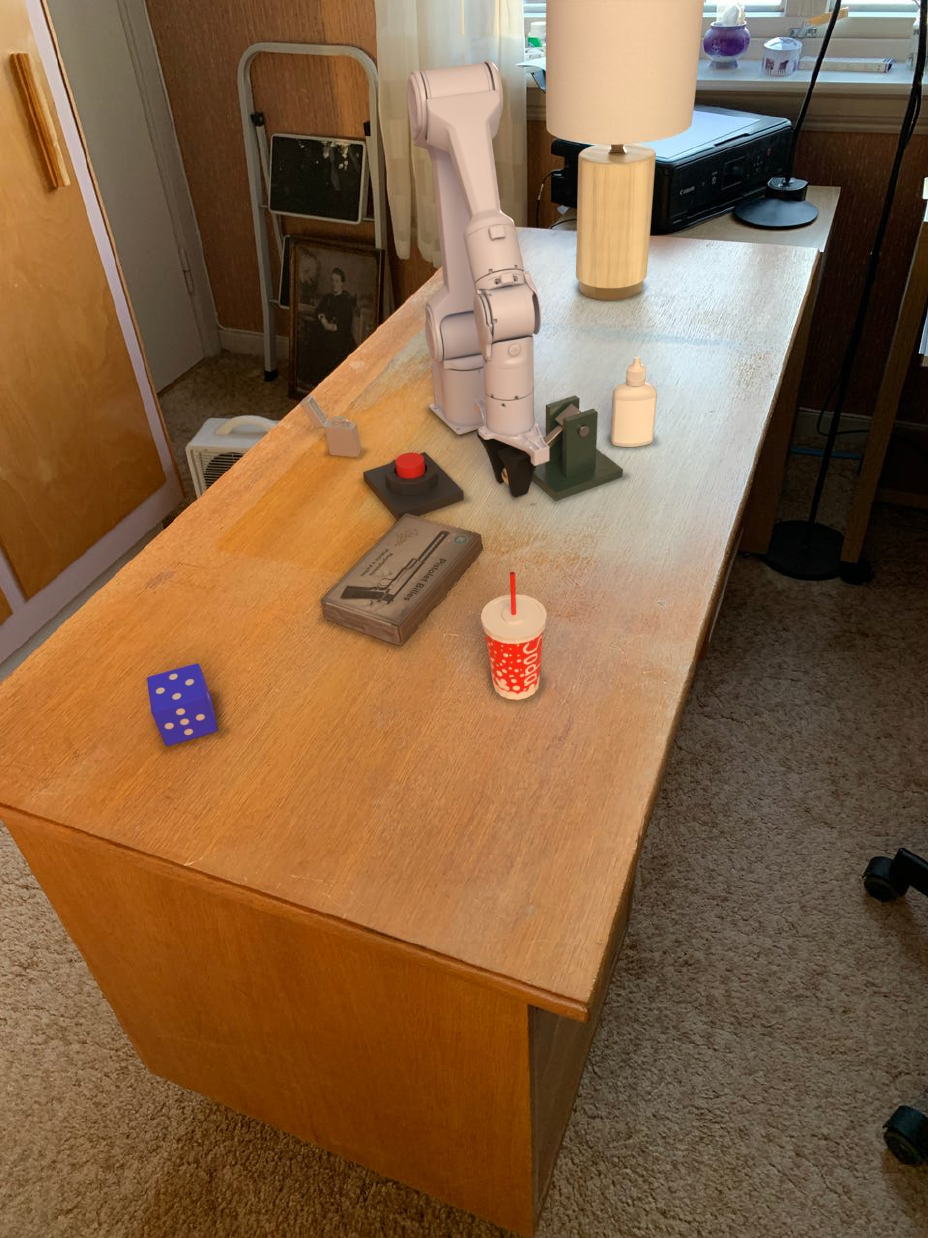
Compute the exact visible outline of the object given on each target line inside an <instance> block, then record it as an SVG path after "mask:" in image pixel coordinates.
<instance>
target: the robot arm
mask: <svg viewBox="0 0 928 1238" xmlns="http://www.w3.org/2000/svg"><path fill="white" fill-rule="evenodd" d="M406 99H407V100H406V101H407V108H408V109H407V111H408V116H409V127H410V135H411V138H412V140H413V145H414V146H415V147H417V148H421V149H425V150H426V151H427V153H428V156H429V159H430V163H431V168H432V169H431V170H432V177H433V178H432V179H433V187H434V198H435V199H434V200H435V207H436V209H435V210H436V217H437V229H438V237H439V238H438V240H439V249H440V259H441V260H440V261H441V269H442V279H443V280H442V281H443V285H442V286H441V288H439V289H438V290H437V292H436V293H435V294H433V295H432V296H431V297H430V298H429V299H428V300H427V301H426V302H425V307H424V311H425V322H424V323H425V324H424V328H425V329H424V330H425V338H426V343H427V348H428V352H429V355H430V357H431V359H432V363H431V377H432V387H433V389H432V390H433V398H434V399H433V400H434V402H433V403H431V404H429V406H428V408H429V410H431V412H433V414H435V415H436V416H437V417H438V418H439V419H440V420H441V421H442V422H443V423H445V424H446V425H447V427H449V428H450V429H451V430H452V431H453V432H454V433H455V434H456V435H459V436H461V435H464V434H468V433H470V432H473V431H476V430H477V432H476V435H477V438H478V440H479V441H480V442H481V444H482V445H483V448H484V449H485V451H486V454H487V456H488V459H489V462H490V465H491V467H492V471H493V474H494V475H493V476H494V477H495V481H496V482H497V483H498V484H499V485H502V484H503V483H505V482H504V480H503V478H502V468H503V466H505V469H506V472H507V477H508V484H509V485H508V484H507V485H508V490H509V493H510V496H511V497H513V498H514V499H517V498H519V497H522V496H525V495H527V494H529V490H530V487H531V482H532V481H533V480H532V477H533V474H534V471H535V468H536V466H537V465H539V464H542V463H545V462H548V461H549V446H548V445H547V444H546V443H545V442H544V440H543V439H544V437H543V435H542V433H541V430H540V428H539V425H538V422H537V420H536V418H535V381H534V380H535V377H534V376H535V372H534V365H535V363H534V362H535V361H534V336H533V334H534V335H538V334H539V333H540V331H541V327H542V309H541V302H540V296H539V293H538V290H537V287H536V285H535V283H534V281H533V279H532V276H531V273H530V271H529V270H526V271H525V266H524V262H523V257H522V252H521V248H520V243H519V239H518V235H517V230H516V225H515V221H514V220H513V219H512V218H511V217H510V216H508V215H507V214H506V213H504V212H503V211H502V209H501V208H502V207H501V199H500V193H499V186H498V178H497V170H496V163H495V153H494V148H493V147H494V146H493V139H494V138H495V137H496V136H497V134H498V132H499V128H500V119H501V117H502V115H503V110H504V90H503V83H502V77H501V74H500V71H499V69H498V67H497V66H496V65H495V63H494V62H493V61H492V60H485V61H483V62H480V63H473V64H472V63H471V64H465V65H464V64H463V65H457V66H449V67H441V68H432V69H424V70H419V69H413V70H412V71H411V72H410V74H409V76H408V78H407V80H406Z"/></svg>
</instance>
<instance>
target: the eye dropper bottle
mask: <svg viewBox="0 0 928 1238" xmlns="http://www.w3.org/2000/svg"><path fill="white" fill-rule="evenodd" d="M625 373H626V376H625V382H623V383H620V384H618V385H617V386H615V387H614V388H613V389H612V395H611V396H612V397H611V411H610V412H611V413H610V414H611V415H610V430H609V431H610V432H609V437H610V441H611V444H612V445H613V446H615V447H621V448H636V447H637V448H638V447H643V446H647V445H650V444H652V443H653V441H654V436H655V423H656V411H657V398H658V393H657V389H656V387H655V385H654V384H652V383H650V382H647V381H646V375H647V367H646V366H645V365H644V364H642V363H641V357H640V356H634V357H633V361H632V364H629V365H628V366H627V367H626V372H625Z"/></svg>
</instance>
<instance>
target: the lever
mask: <svg viewBox="0 0 928 1238" xmlns="http://www.w3.org/2000/svg"><path fill="white" fill-rule="evenodd" d="M581 412H582V411H581V410H580V408H579V409H577V408H576V407H575V406H573V405H572V404H570V405H569V406H568V407H567V408H566V409H565V410H564V411H563V412H562V413H560V414H559V415H558V416H557V417H556V418H555V421H556V422H557V424H558V426H557V427H556V428H555V429H554V430H553V431H551V432H550V433H549V434H548V435H547V436H546V435H545V437H543V440H544V442H545V443H546V444H547V445H548V446H549V449H550V448H551V447H552V446H553V445H554V444H555V443H556V442H557V441H558V440H560V439H561V438H562V437H563V418H566V417H569V416H572V415H575V414H578V413H581ZM502 478H503V480H504V483H505V484H506V485H508V486H509V484H508V477H507V472H506V469H505V466H503V468H502Z"/></svg>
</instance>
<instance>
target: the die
mask: <svg viewBox="0 0 928 1238" xmlns="http://www.w3.org/2000/svg"><path fill="white" fill-rule="evenodd" d="M200 665H201V664H200V663H199V662H197V663H193V664H189V665H185V666H181V667H178V668H174V669H170V670H168V671H164V672H160V673H157V674H153V675H150V676H147V677H146V683H147V690H148V697H149V705H150V713H151V714H152V717H153V720H154V722H155V724H156V727H157V729H158V731H159V734H160V736H161V738H162V740H163V743H164V745H165V746H166V747H169V746H173V745H175V744H180V743H183V742H187V741H189V740H193V739H196V738H200V737H204V736H206V735H209V734H210V735H211V734H214V733H216V732H218V731H219V729H218V723H217V719H216V715H215V710H214V704H213V700H212V696H211V692H210V689H209V687H208V685H207V681H206V679H205V676H204V674H203V670H202V667H201V666H200Z"/></svg>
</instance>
